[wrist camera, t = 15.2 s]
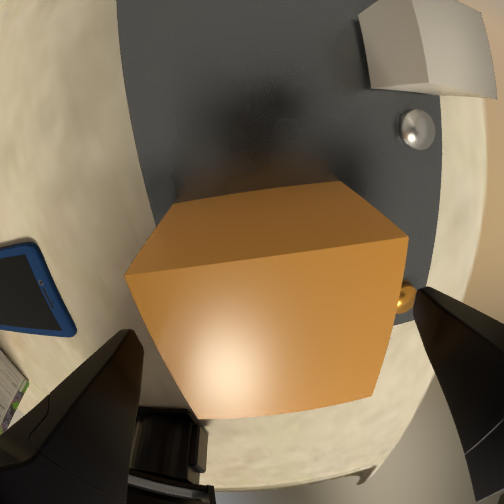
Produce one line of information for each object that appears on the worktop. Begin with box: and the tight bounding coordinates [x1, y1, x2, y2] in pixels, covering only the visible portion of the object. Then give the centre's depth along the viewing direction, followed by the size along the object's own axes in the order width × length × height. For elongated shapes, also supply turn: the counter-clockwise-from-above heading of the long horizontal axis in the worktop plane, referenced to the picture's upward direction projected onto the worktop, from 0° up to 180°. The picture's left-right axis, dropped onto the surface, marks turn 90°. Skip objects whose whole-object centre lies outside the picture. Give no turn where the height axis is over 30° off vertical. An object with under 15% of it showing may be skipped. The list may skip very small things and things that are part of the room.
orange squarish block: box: [124, 181, 409, 419], centre depth 9 cm, size 6×6×5 cm
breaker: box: [358, 0, 497, 99], centre depth 5 cm, size 3×3×4 cm
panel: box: [116, 0, 442, 326], centre depth 9 cm, size 12×20×2 cm, turn 8°
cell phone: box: [0, 242, 77, 337], centre depth 14 cm, size 7×14×1 cm, turn 95°
